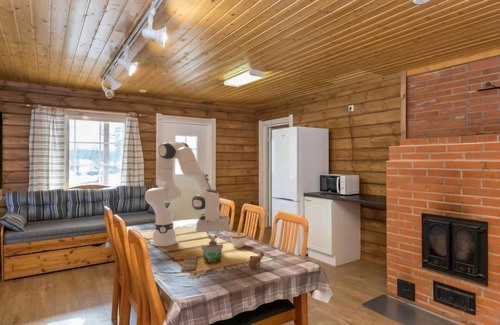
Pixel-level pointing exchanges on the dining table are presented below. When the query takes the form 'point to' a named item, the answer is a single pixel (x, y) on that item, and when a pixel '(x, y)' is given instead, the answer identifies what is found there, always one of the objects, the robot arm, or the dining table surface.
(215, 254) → the food container
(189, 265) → the wooden board
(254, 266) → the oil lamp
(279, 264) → the dining table surface
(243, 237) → the lidded jar
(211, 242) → the turner
